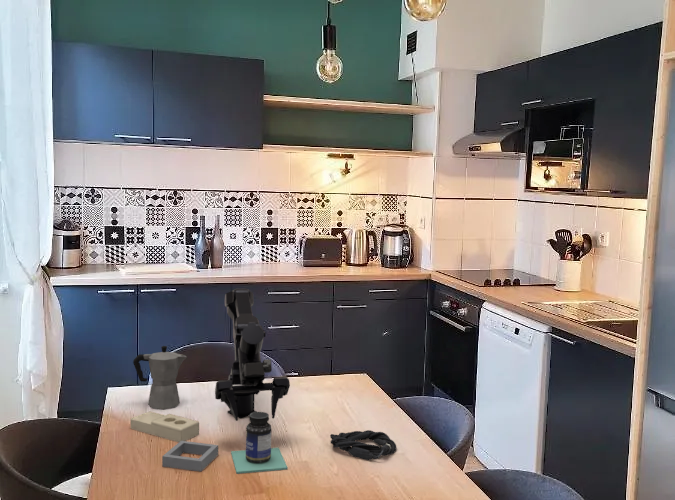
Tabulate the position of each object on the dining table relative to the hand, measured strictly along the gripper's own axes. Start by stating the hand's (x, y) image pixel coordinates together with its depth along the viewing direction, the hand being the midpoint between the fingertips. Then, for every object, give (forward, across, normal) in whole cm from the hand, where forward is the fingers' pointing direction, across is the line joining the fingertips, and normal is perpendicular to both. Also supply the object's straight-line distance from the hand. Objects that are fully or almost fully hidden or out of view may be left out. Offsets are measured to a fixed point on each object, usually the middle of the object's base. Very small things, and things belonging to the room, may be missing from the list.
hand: (255, 418), depth 166 cm
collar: (+8, -16, +4) cm, 18 cm away
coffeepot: (-21, -23, +34) cm, 46 cm away
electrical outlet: (-6, -22, +19) cm, 29 cm away
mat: (+10, 0, +1) cm, 10 cm away
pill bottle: (+10, 0, +1) cm, 10 cm away
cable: (+9, +27, +4) cm, 29 cm away
